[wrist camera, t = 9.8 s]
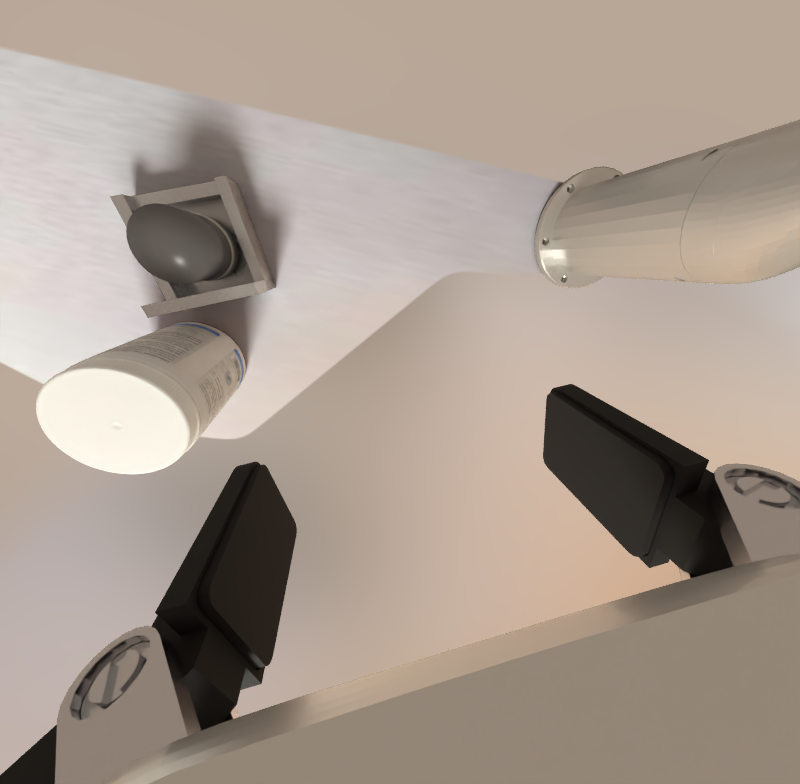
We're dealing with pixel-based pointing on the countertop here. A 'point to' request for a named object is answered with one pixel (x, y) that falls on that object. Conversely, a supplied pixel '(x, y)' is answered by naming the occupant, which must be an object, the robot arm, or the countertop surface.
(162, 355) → the supplement tub
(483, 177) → the countertop surface
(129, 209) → the open square box
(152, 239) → the grey rounded-end cylinder
